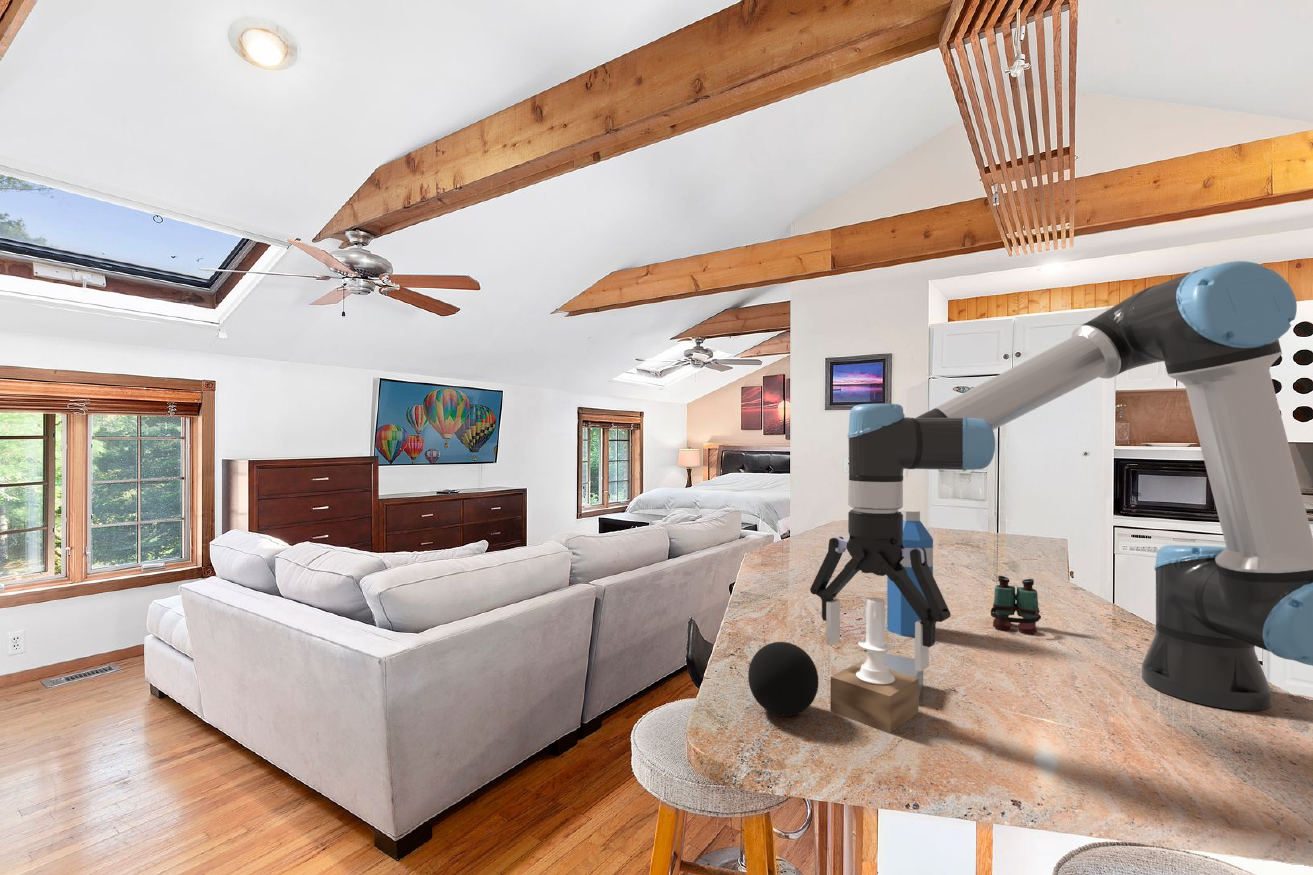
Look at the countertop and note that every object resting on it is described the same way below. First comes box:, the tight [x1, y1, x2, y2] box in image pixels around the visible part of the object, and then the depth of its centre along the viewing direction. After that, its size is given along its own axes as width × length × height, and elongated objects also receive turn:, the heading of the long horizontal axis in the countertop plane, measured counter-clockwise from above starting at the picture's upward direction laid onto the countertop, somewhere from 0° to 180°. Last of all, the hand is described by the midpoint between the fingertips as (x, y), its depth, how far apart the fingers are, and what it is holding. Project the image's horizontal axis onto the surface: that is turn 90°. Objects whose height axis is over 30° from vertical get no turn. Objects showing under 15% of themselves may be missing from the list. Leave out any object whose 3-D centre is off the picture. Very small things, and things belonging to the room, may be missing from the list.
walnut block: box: [829, 661, 920, 734], centre depth 87 cm, size 9×9×5 cm
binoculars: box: [990, 575, 1042, 635], centre depth 125 cm, size 9×11×10 cm
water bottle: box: [886, 508, 934, 638], centre depth 124 cm, size 9×9×25 cm
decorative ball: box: [747, 641, 819, 717], centre depth 87 cm, size 10×10×10 cm
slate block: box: [863, 652, 924, 695], centre depth 95 cm, size 8×8×4 cm
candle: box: [856, 594, 895, 685], centre depth 87 cm, size 5×5×12 cm
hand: (874, 655), depth 87 cm, fingers open, 13 cm apart
